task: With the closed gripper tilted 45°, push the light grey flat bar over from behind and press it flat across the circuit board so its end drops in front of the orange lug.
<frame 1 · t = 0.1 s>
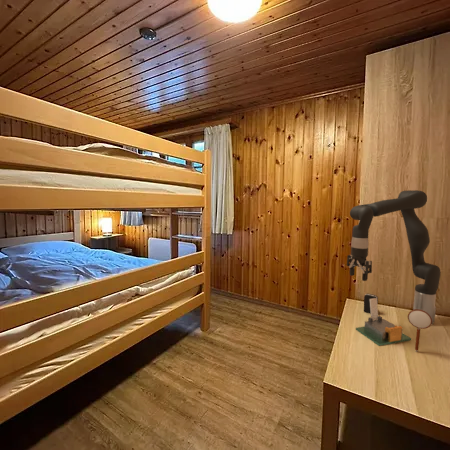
hand: (358, 277, 128), 29 cm above the table, tool pointing down, fingers open, 8 cm apart
circuit board: (382, 334, 129), on the table
magnifying glass: (416, 352, 115), on the table
battery: (370, 312, 153), on the table
light grey flat bar: (373, 309, 134), point 11 cm above the table, hinge at 100.0°
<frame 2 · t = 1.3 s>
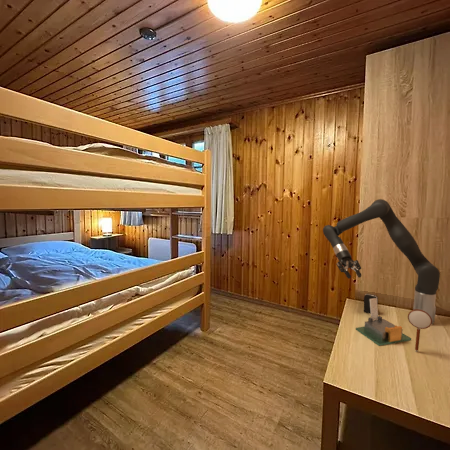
hand: (355, 277, 146), 23 cm above the table, tool tilted 45°, fingers open, 6 cm apart
nothing on the table moved.
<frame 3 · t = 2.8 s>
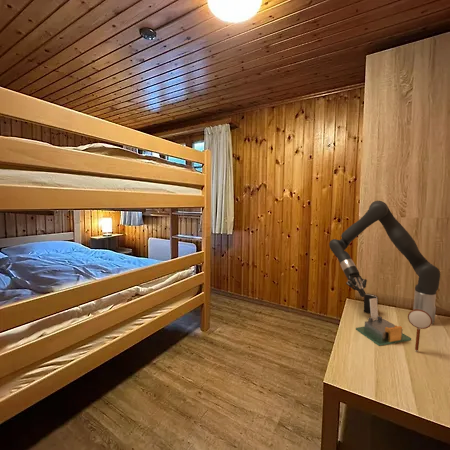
hand: (363, 296, 140), 15 cm above the table, tool tilted 45°, fingers closed
nothing on the table moved.
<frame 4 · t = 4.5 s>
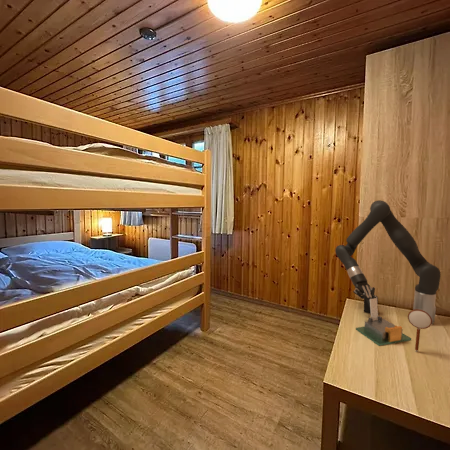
hand: (372, 305, 135), 12 cm above the table, tool tilted 45°, fingers closed
light grey flat bar: (373, 309, 134), point 11 cm above the table, hinge at 99.9°, touching gripper
everything else where it was.
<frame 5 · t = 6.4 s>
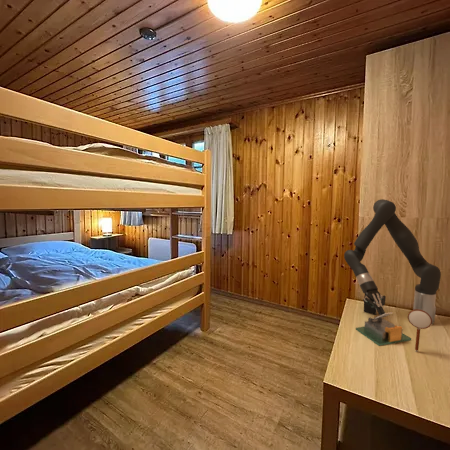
hand: (382, 315, 128), 10 cm above the table, tool tilted 45°, fingers closed
light grey flat bar: (381, 316, 129), point 9 cm above the table, hinge at 42.2°, touching gripper
everything else where it was.
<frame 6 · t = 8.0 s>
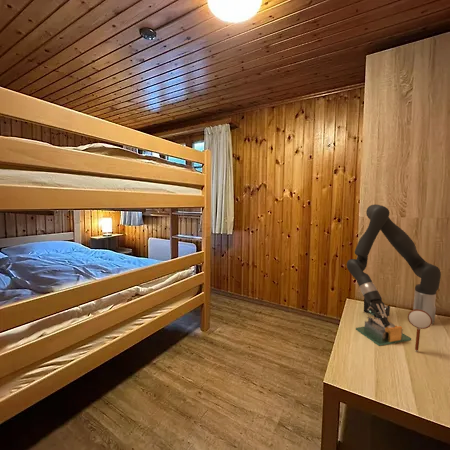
hand: (387, 326, 125), 6 cm above the table, tool tilted 45°, fingers closed
light grey flat bar: (384, 325, 128), point 5 cm above the table, hinge at -2.3°, touching gripper, circuit board
everything else where it was.
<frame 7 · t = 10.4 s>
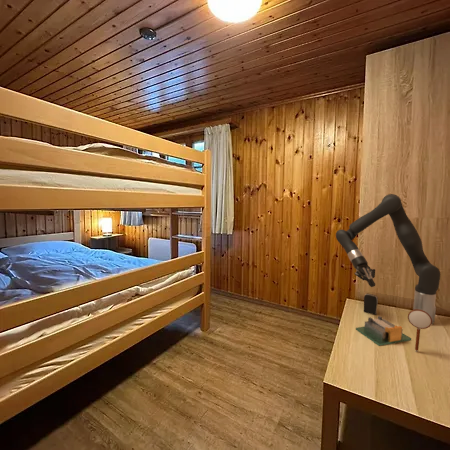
hand: (373, 286, 137), 21 cm above the table, tool tilted 45°, fingers closed
light grey flat bar: (384, 325, 128), point 5 cm above the table, hinge at -2.2°
everything else where it was.
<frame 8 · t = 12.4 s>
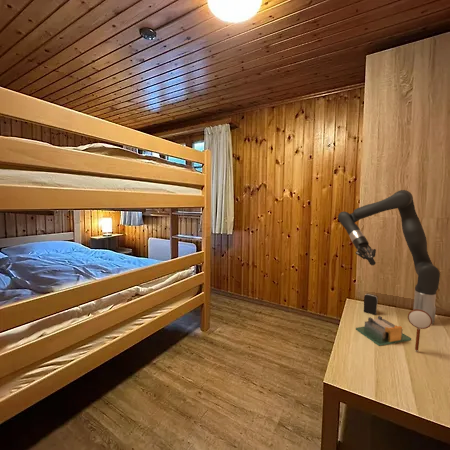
hand: (373, 264, 141), 32 cm above the table, tool tilted 45°, fingers closed
nothing on the table moved.
at the end: light grey flat bar at -2° (first picture: +100°); battery moved 0.2 cm from its start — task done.
